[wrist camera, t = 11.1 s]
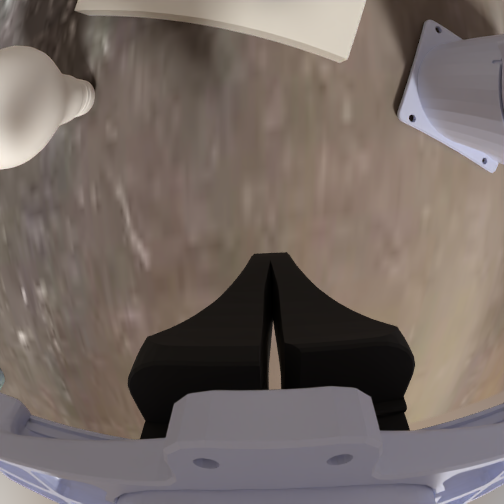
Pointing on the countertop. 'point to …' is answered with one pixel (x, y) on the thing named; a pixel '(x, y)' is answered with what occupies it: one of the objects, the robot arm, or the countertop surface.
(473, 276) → the countertop surface
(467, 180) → the countertop surface
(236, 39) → the countertop surface
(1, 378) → the drinking glass
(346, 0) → the breaker panel
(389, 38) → the countertop surface
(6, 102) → the lightbulb
